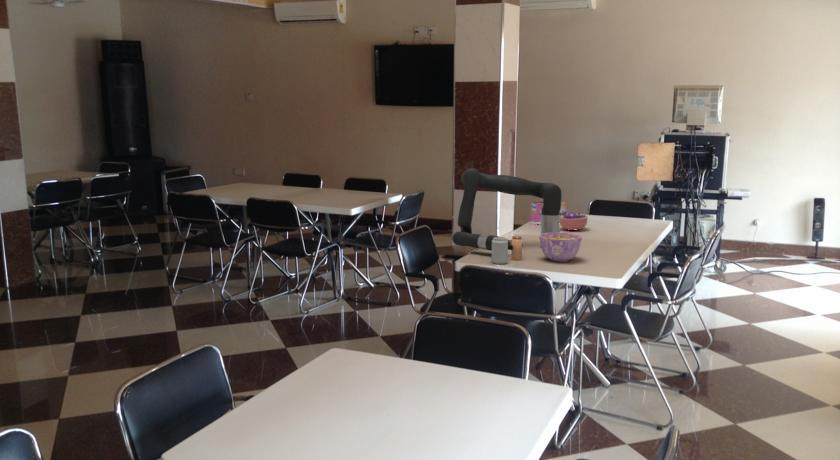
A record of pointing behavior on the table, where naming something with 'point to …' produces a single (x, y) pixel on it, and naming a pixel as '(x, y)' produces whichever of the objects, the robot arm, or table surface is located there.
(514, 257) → the jar
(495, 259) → the can
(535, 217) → the gum box
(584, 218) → the cell model
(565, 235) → the bowl of food
